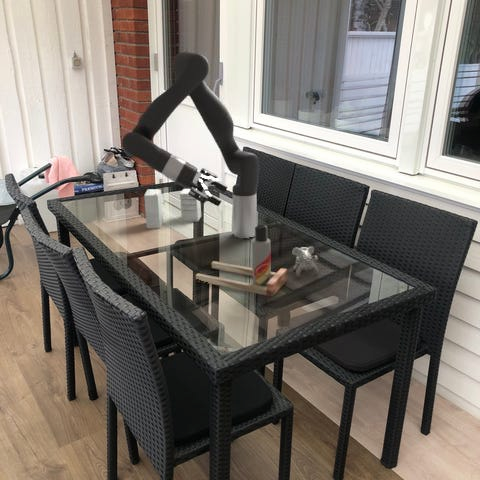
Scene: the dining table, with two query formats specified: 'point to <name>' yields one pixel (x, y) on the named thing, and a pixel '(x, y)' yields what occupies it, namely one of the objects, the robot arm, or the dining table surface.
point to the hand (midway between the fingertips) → (223, 196)
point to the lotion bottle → (261, 256)
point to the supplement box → (189, 207)
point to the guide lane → (269, 290)
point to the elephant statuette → (305, 260)
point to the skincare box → (153, 208)
